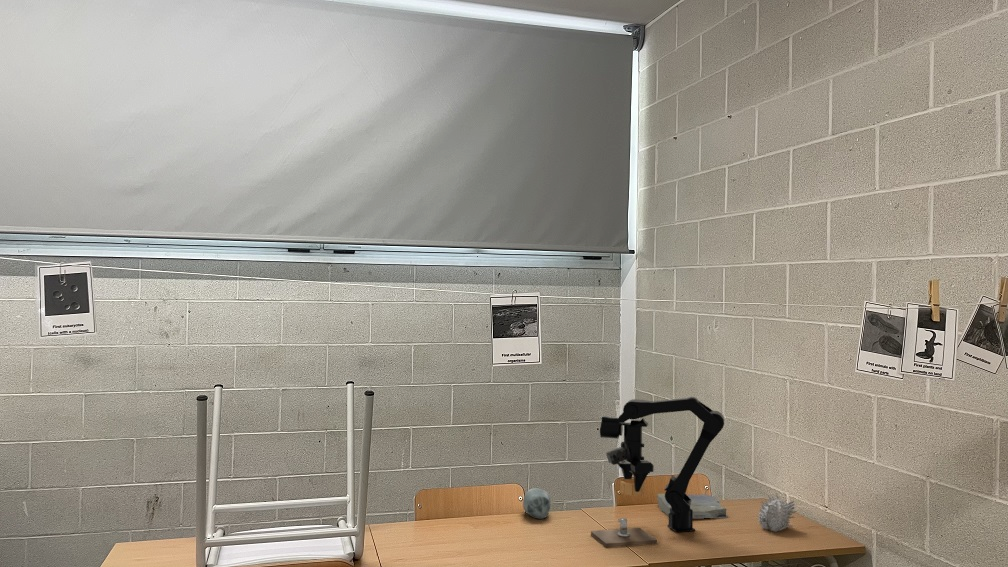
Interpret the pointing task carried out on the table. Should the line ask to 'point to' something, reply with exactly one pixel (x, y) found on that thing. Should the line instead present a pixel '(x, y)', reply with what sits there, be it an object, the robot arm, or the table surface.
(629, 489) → the tan wooden ring
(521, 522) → the table surface
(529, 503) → the grey rounded lump
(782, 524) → the sea urchin
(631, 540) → the shelf board
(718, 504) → the fossil
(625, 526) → the hook post
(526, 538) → the table surface
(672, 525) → the robot arm
